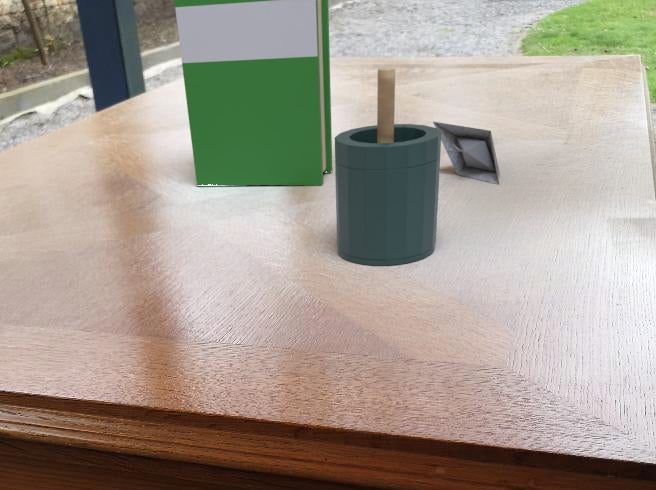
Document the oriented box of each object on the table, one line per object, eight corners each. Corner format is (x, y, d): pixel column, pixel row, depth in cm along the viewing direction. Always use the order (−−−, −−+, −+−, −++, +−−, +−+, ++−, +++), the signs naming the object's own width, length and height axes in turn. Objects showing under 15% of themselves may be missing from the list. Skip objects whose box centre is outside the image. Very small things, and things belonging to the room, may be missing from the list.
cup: (423, 230, 86) (427, 120, 79) (444, 260, 77) (451, 140, 71) (332, 238, 85) (329, 129, 79) (344, 269, 77) (342, 150, 71)
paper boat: (531, 162, 101) (511, 158, 94) (497, 204, 105) (475, 203, 98) (465, 103, 103) (440, 95, 96) (433, 147, 107) (408, 142, 100)
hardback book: (332, 171, 110) (327, -37, 95) (321, 185, 104) (314, -34, 90) (213, 173, 114) (191, -26, 100) (197, 186, 108) (171, -23, 94)
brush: (399, 236, 83) (404, 63, 73) (407, 247, 80) (412, 69, 70) (362, 239, 83) (361, 67, 73) (368, 251, 80) (368, 73, 70)
